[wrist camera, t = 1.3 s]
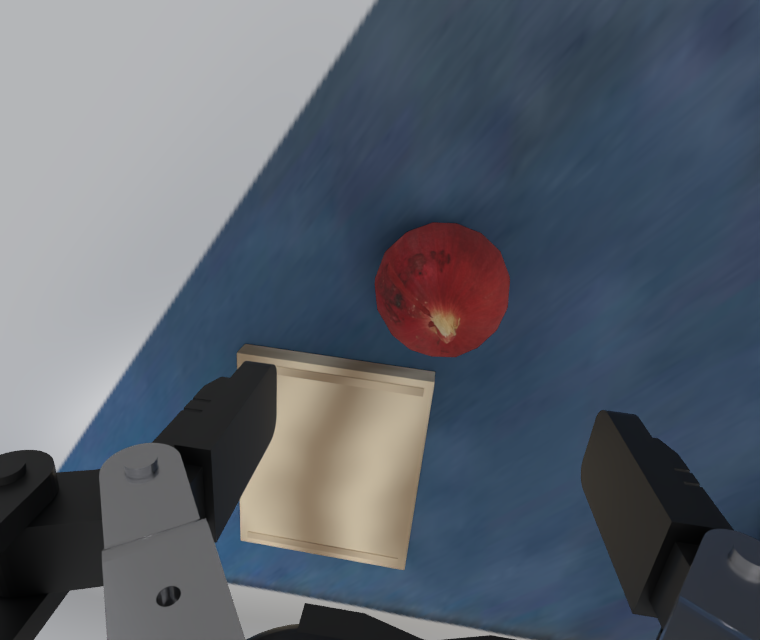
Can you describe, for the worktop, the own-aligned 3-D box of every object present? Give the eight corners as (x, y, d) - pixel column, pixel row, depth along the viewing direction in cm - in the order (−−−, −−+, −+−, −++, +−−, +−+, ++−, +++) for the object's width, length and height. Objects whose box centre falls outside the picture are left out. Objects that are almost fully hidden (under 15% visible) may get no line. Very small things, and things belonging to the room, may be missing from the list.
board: (434, 371, 27) (434, 382, 25) (405, 555, 32) (404, 571, 31) (245, 343, 27) (236, 353, 26) (247, 526, 33) (240, 541, 32)
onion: (370, 296, 25) (340, 365, 18) (408, 192, 23) (391, 222, 16) (472, 334, 25) (483, 418, 18) (519, 234, 23) (554, 283, 16)
